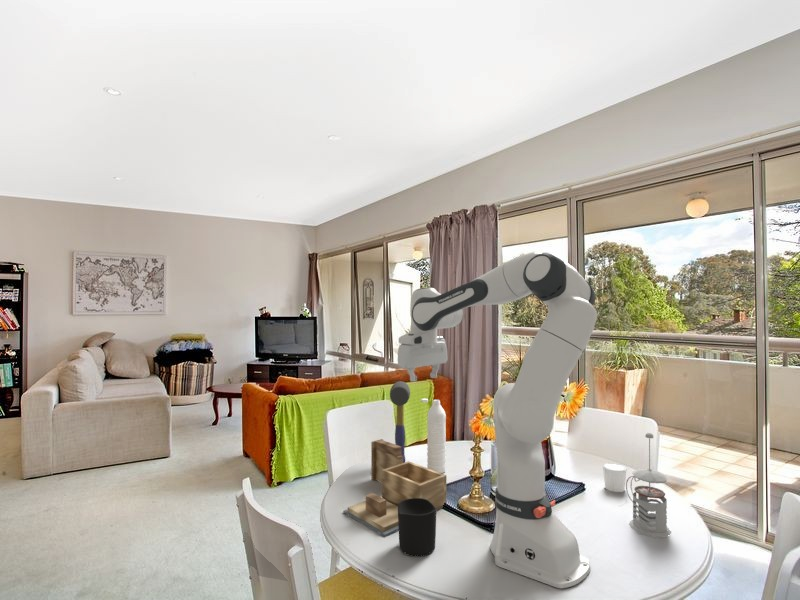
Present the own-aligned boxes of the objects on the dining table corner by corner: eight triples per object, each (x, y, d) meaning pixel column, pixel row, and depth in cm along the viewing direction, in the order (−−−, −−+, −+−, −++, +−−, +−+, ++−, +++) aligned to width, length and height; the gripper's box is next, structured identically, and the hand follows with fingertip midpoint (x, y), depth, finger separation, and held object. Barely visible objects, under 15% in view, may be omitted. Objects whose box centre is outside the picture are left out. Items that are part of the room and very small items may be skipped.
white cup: (622, 484, 148) (622, 463, 148) (629, 493, 142) (629, 471, 142) (600, 483, 149) (600, 462, 150) (606, 492, 143) (606, 469, 143)
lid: (413, 518, 124) (413, 499, 124) (383, 532, 117) (384, 511, 117) (376, 500, 135) (376, 482, 135) (347, 511, 128) (347, 492, 128)
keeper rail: (405, 487, 147) (405, 447, 147) (395, 491, 144) (395, 450, 144) (381, 476, 155) (381, 439, 155) (371, 480, 152) (371, 441, 152)
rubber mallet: (410, 471, 160) (410, 385, 160) (388, 471, 161) (388, 385, 161) (410, 459, 173) (410, 379, 173) (390, 458, 173) (390, 379, 173)
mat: (418, 521, 124) (418, 519, 124) (385, 536, 115) (385, 534, 115) (376, 500, 137) (376, 498, 137) (343, 512, 129) (343, 510, 129)
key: (401, 454, 147) (401, 446, 147) (395, 456, 145) (395, 448, 145) (381, 447, 154) (381, 439, 154) (375, 448, 152) (375, 441, 152)
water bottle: (447, 468, 163) (447, 398, 163) (444, 475, 157) (443, 402, 157) (423, 466, 166) (423, 397, 166) (419, 472, 159) (419, 400, 159)
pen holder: (441, 541, 113) (441, 501, 113) (429, 561, 104) (429, 518, 105) (406, 534, 117) (406, 495, 117) (391, 553, 108) (391, 511, 108)
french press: (652, 540, 114) (652, 440, 114) (615, 520, 124) (614, 428, 125) (680, 533, 117) (680, 436, 117) (641, 513, 128) (641, 424, 128)
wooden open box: (446, 506, 133) (446, 475, 133) (419, 518, 125) (419, 485, 125) (408, 489, 145) (408, 461, 145) (382, 499, 137) (382, 469, 137)
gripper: (438, 335, 159) (438, 374, 159) (394, 338, 145) (394, 381, 145) (451, 336, 154) (451, 377, 154) (408, 339, 140) (408, 384, 140)
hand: (423, 379), depth 150 cm, fingers open, 8 cm apart
